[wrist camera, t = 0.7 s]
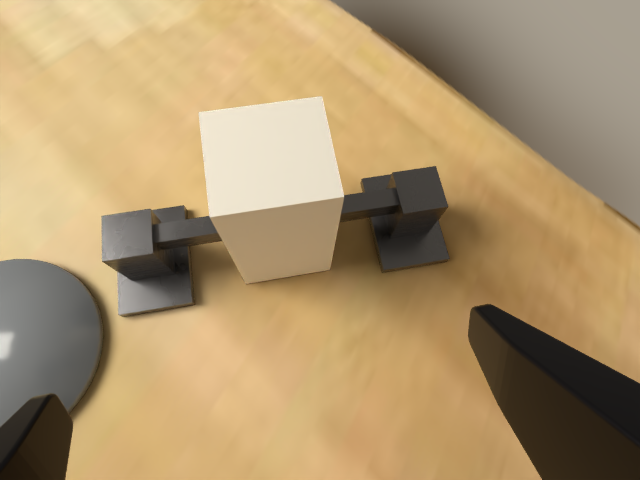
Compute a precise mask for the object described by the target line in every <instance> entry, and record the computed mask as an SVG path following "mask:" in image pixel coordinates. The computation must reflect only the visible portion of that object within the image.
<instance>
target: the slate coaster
mask: <svg viewBox="0 0 640 480" xmlns="http://www.w3.org/2000/svg"><path fill="white" fill-rule="evenodd" d="M102 345H103V325H102V318H101V315H100V311H99V308H98V305H97V303H96V301H95V299H94V297H93V295H92V294H91V292H90V291H89V289H88V288H87V287H86V286H85V285H84V284H83V283H82V282H81V281H80V280H79V279H78V278H76V277H75V276H74V275H72V274H71V273H69V272H67V271H66V270H64V269H62V268H60V267H58V266H55V265H53V264H50V263H47V262H43V261H39V260H31V259H13V260H6V261H0V427H1V426H2V425H3V424H4V423H5V422H6V421H7V420H8V419H9V418H10V417H11V416H12V415H13V414H14V413H15V412H16V411H17V410H18V409H20V408H21V407H22V406H23V405H24V404H25V403H26V402H27V401H28V400H29V399H30V398H32V397H35V396H39V395H44V394H49V393H54V394H56V395H57V396H58V397H59V399H60V400H61V402H62V403H63V405H64V406H65V408H66V410H67V411H68V413H70V412H71V410H72V409H73V408H74V407H75V406H76V405H77V404H78V402H79V401H80V399H81V398H82V397H83V395H84V394H85V392H86V391H87V389H88V387H89V385H90V383H91V382H92V380H93V377H94V375H95V372H96V370H97V368H98V364H99V361H100V357H101V352H102Z"/></svg>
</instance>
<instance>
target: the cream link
mask: <svg viewBox="0 0 640 480" xmlns="http://www.w3.org/2000/svg"><path fill="white" fill-rule="evenodd" d="M199 121H200V130H201V140H202V149H203V159H204V169H205V178H206V188H207V197H208V207H209V216H210V219H211V221H212V223H213V225H214V226H215V228H216V230H217V232H218V234H219V236H220V237H221V239H222V241H223V243H224V245H225V247H226V249H227V250H228V252H229V254H230V256H231V258H232V260H233V261H234V263H235V265H236V267H237V269H238V271H239V272H240V274H241V276H242V278H243V280H244V282H245V283H246V284H249V283H255V282H261V281H267V280H273V279H279V278H285V277H291V276H297V275H303V274H309V273H315V272H321V271H326V270H330V268H331V262H332V257H333V252H334V247H335V242H336V237H337V232H338V226H339V221H340V216H341V211H342V206H343V201H344V193H343V189H342V184H341V180H340V175H339V171H338V166H337V162H336V157H335V153H334V148H333V144H332V139H331V135H330V130H329V126H328V121H327V117H326V112H325V108H324V103H323V98H322V96H319V97H312V98H304V99H296V100H289V101H281V102H273V103H266V104H258V105H251V106H243V107H235V108H228V109H220V110H212V111H205V112H199Z"/></svg>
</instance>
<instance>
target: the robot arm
mask: <svg viewBox="0 0 640 480" xmlns="http://www.w3.org/2000/svg"><path fill="white" fill-rule="evenodd" d="M468 338H469V342H470V345H471V347H472V349H473V351H474V353H475V356H476V358H477V360H478V362H479V364H480V367H481V369H482V371H483V373H484V375H485V378H486V380H487V382H488V384H489V386H490V389H491V391H492V393H493V395H494V397H495V399H496V401H497V403H498V405H499V407H500V409H501V411H502V412H503V414H504V416H505V418H506V419H507V421H508V423H509V424H510V426H511V428H512V429H513V431H514V433H515V435H516V436H517V438H518V440H519V441H520V443H521V445H522V446H523V448H524V450H525V451H526V453H527V455H528V456H529V458H530V460H531V462H532V463H533V465H534V467H535V468H536V470H537V472H538V473H539V475H540V477H541V478H542V480H640V383H638V382H636V381H634V380H632V379H630V378H629V377H627V376H625V375H623V374H621V373H619V372H617V371H615V370H614V369H612V368H610V367H608V366H606V365H604V364H602V363H600V362H599V361H597V360H595V359H593V358H591V357H589V356H587V355H585V354H584V353H582V352H580V351H578V350H576V349H574V348H572V347H570V346H569V345H567V344H565V343H563V342H561V341H559V340H557V339H555V338H554V337H552V336H550V335H548V334H546V333H544V332H542V331H540V330H539V329H537V328H535V327H533V326H531V325H529V324H527V323H525V322H524V321H522V320H520V319H518V318H516V317H514V316H512V315H510V314H509V313H507V312H505V311H503V310H501V309H499V308H497V307H495V306H493V305H491V304H485V305H480V306H475V307H473V308H472V309H471V312H470V320H469V329H468ZM72 431H73V422H72V418H71V416H70V414H69V413H68V411H67V410H66V408H65V406H64V405H63V403H62V402H61V400H60V399H59V397H58V396H57V395H56V394H54V393H49V394H44V395H39V396H35V397H32V398H30V399H29V400H28V401H27V402H26V403H25V404H24V405H23V406H22V407H21V408H20V409H18V410H17V411H16V412H15V413H14V414H13V415H12V416H11V417H10V418H9V419H8V420H7V421H6V422H5V423H4V424H3V425H2V426H1V427H0V480H65V477H66V471H67V464H68V458H69V451H70V444H71V438H72Z"/></svg>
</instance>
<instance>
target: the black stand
mask: <svg viewBox="0 0 640 480" xmlns="http://www.w3.org/2000/svg"><path fill="white" fill-rule="evenodd" d="M361 187H362V191H363V193H357V194H350V195H344V201H343V206H342V211H341V216H340V221H339V222H345V221H351V220H357V219H364V218H369V221H370V225H371V229H372V233H373V237H374V242H375V246H376V250H377V254H378V258H379V263H380V267H381V271H382V273H383V272H389V271H395V270H401V269H406V268H412V267H418V266H424V265H430V264H436V263H442V262H447V261H448V260H449V259H450V258H449V255H448V252H447V248H446V245H445V242H444V238H443V235H442V231H441V228H440V225H439V221H438V219H439V218H440V217H441V215H442V214H443V213H444V212H445V210H446V209H447V208H448V204H447V201H446V198H445V195H444V191H443V188H442V185H441V181H440V178H439V175H438V172H437V168H436V166H434V167H427V168H420V169H414V170H407V171H400V172H393V173H392V174H391V175H384V176H377V177H371V178H364V179H362V180H361ZM218 241H222V239H221V237H220V236H219V234H218V232H217V230H216V228H215V226H214V225H213V223H212V221H211V219H210V216H206V217H199V218H193V219H187V209H186V208H185V206H184V205H183V206H177V207H170V208H163V209H157V210H151V209H145V210H139V211H132V212H125V213H119V214H112V215H105V216H102V262H104V263H105V264H107V265H108V266H110V267H111V268H113V269H115V270H116V271H117V276H118V315H120V316H122V317H125V316H131V315H136V314H142V313H148V312H154V311H160V310H166V309H172V308H178V307H183V306H189V305H195V302H194V290H193V279H192V267H191V255H190V246H193V245H199V244H205V243H212V242H218Z"/></svg>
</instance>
